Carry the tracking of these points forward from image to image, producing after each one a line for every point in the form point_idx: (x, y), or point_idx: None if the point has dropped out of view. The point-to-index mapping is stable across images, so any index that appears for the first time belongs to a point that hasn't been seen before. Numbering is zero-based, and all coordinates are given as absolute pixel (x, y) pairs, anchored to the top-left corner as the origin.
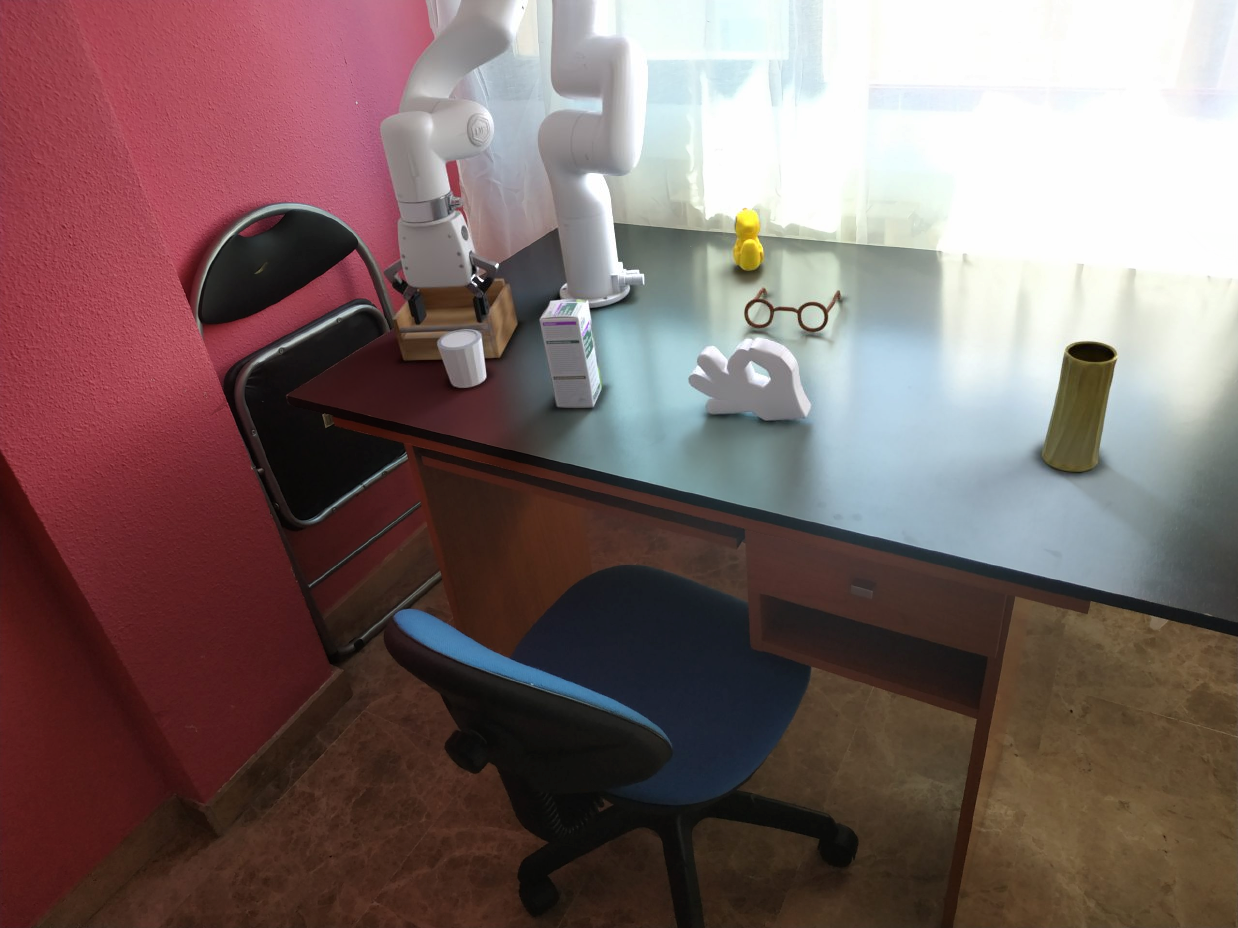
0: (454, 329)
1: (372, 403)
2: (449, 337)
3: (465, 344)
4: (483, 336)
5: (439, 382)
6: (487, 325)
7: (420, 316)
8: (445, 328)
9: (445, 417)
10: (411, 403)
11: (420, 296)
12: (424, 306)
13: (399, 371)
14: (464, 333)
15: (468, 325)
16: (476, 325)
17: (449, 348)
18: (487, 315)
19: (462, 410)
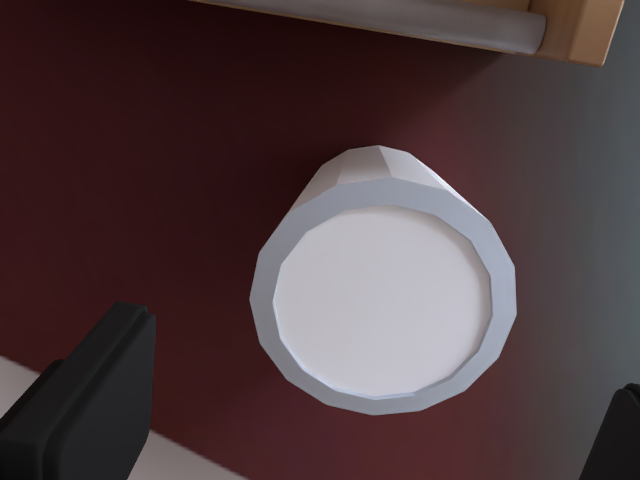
0: (299, 15)
1: (26, 317)
2: (316, 268)
3: (425, 371)
4: (475, 45)
5: (250, 220)
6: (534, 43)
7: (133, 437)
8: (237, 2)
9: (321, 449)
10: (177, 347)
11: (71, 469)
12: (125, 356)
13: (35, 82)
14: (406, 237)
15: (400, 14)
16: (457, 26)
17: (339, 400)
18: (580, 55)
19: (374, 423)
